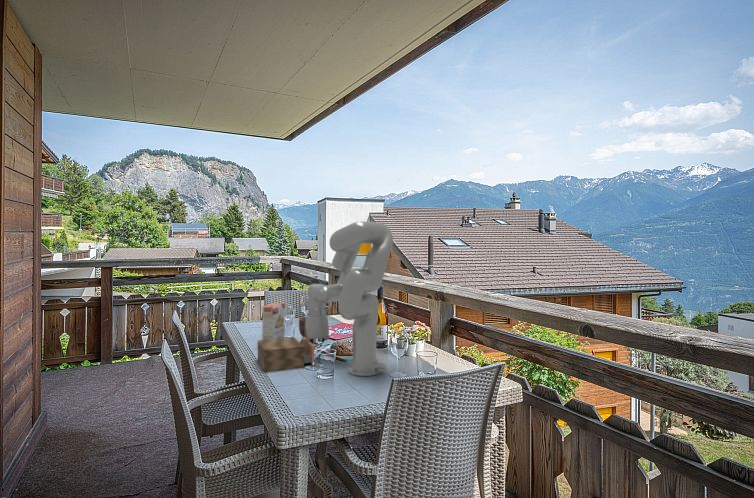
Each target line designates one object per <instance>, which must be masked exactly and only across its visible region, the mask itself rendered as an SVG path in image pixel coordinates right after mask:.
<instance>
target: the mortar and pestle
mask: <svg viewBox="0 0 754 498" xmlns="http://www.w3.org/2000/svg"><path fill="white" fill-rule="evenodd" d="M305 321H306V316H303V317H299V318H298V328H299V329H298V330H299V333H300V334H299V335H301V337H305ZM299 342H300V343H301V344H302V339H301V340H300V341H299Z"/></svg>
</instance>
